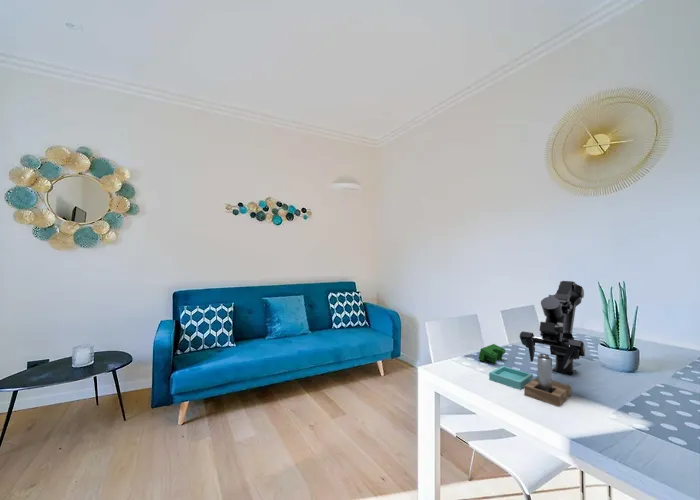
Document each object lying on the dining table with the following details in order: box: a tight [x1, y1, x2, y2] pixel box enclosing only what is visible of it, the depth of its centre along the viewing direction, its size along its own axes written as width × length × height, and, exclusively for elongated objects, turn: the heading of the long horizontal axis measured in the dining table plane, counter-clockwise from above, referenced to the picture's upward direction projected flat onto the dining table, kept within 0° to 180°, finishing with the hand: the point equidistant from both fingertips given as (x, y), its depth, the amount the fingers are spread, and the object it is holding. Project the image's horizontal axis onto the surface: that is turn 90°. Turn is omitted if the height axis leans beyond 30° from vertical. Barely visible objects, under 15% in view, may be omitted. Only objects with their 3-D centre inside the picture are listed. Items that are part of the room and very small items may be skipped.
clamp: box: [478, 343, 507, 364], centre depth 133 cm, size 12×6×9 cm, turn 121°
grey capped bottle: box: [537, 353, 553, 393], centre depth 99 cm, size 4×4×14 cm
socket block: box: [523, 376, 572, 407], centre depth 101 cm, size 12×10×3 cm
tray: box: [488, 365, 534, 391], centre depth 112 cm, size 11×11×2 cm
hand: (546, 364), depth 101 cm, fingers open, 9 cm apart
